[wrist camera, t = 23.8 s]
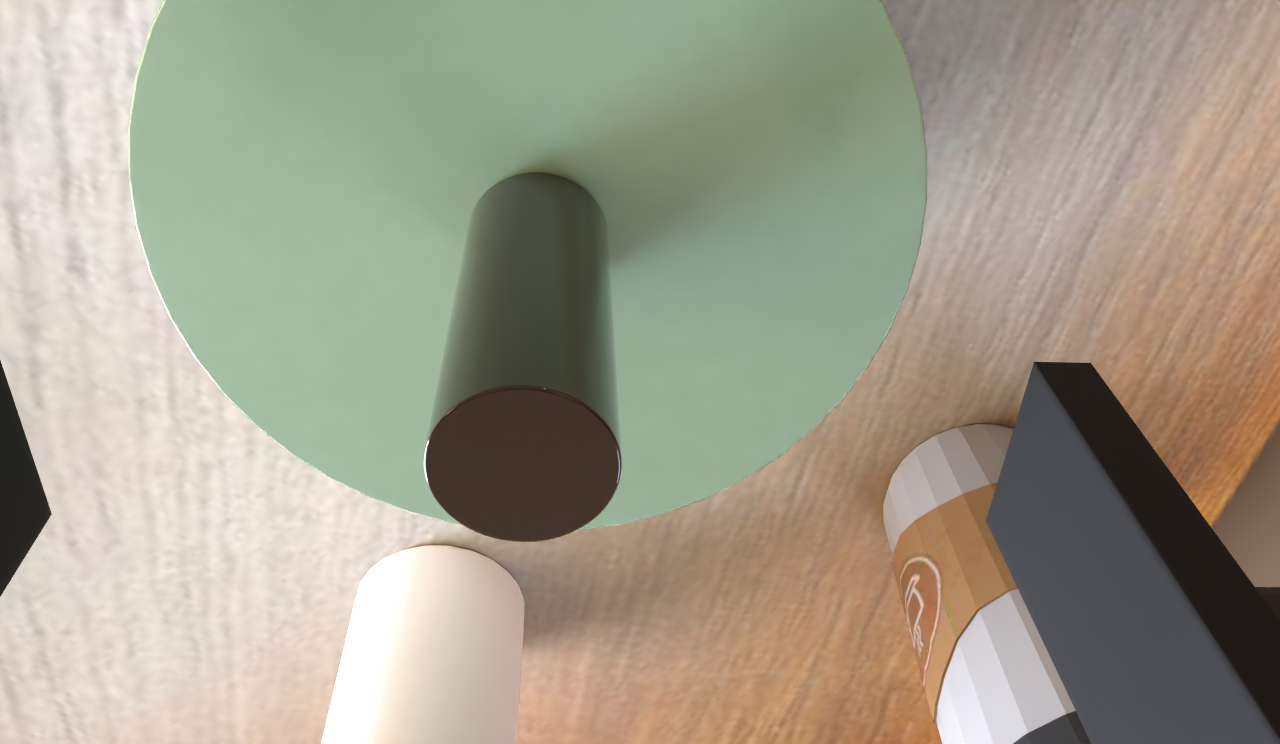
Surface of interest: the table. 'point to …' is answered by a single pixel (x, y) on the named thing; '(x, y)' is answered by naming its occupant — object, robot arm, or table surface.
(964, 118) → the table surface
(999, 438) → the coffee cup
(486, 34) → the lid
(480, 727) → the candle
